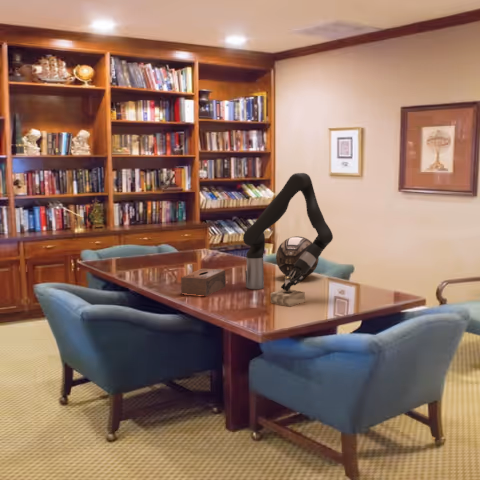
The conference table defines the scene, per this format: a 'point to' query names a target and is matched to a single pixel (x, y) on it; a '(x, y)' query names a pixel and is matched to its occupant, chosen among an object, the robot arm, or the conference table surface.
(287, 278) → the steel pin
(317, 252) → the robot arm
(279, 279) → the conference table surface
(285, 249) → the sphere
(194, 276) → the tissue box cover
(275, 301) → the maple hitch block
